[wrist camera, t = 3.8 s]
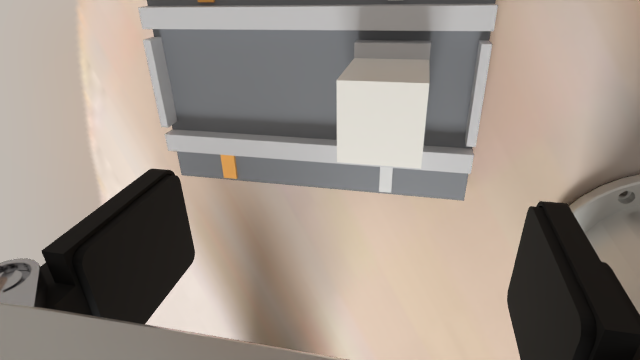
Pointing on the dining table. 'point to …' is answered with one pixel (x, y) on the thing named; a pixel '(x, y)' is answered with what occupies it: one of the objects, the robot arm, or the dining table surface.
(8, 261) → the robot arm
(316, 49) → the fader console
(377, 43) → the fader tab
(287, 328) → the dining table surface
